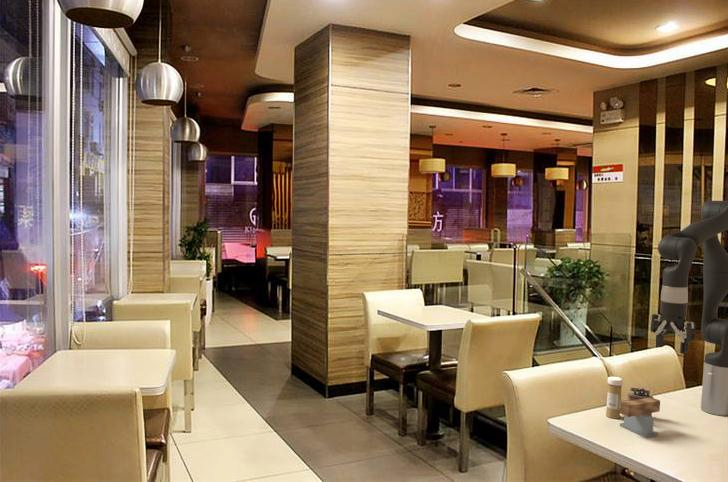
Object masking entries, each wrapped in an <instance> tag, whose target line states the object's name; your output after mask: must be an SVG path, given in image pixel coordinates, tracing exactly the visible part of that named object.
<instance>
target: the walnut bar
mask: <svg viewBox="0 0 728 482" xmlns="http://www.w3.org/2000/svg"><path fill="white" fill-rule="evenodd" d="M660 406H661V400H660V399H657V398H655V397H653V398H652V397H651V398H645V399H639V400H633V401H628V400H627V401H621V404H620V415H623V416H624V415H625V416H627V417H631V416H637V415H642V414H648V413H652V414H653V413H657V412H658V413H659V412H660V409H661V407H660Z"/></svg>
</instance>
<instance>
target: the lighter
mask: <svg viewBox="0 0 728 482" xmlns="http://www.w3.org/2000/svg"><path fill="white" fill-rule="evenodd" d="M629 391H630V392H628V393H627V401H633V400H639V399H645V398H651V397H652V398H654V396H653V395H650V394H651V391H650V389H647V388H646V389H645V387H641V386H640V388H638V387H635V386H630V390H629ZM648 415H650V416H652V417H653V413H648Z"/></svg>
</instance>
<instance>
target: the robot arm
mask: <svg viewBox="0 0 728 482" xmlns="http://www.w3.org/2000/svg"><path fill="white" fill-rule="evenodd" d="M726 231H728V200H707V201H705V202H704V203H703V204H702V206H701V210H700V220H697V221H695V222H693V223H690V224H689V225H687V226H686V227H684V228H683V229H682V230H679V231H676V232H673V233H670V234H667V235H665V236H664V237H662V238H661V239H660V241H659V243H658V245H657V252H658V255H660V256H661V257H662V258H664V259H667V260H678V261H679V262H678V264H677V265H672V266H666V267H665V268H664V269H663V271H662V285H661V292H660V304H659V305H660V308H659V312H660V313H653V314H652V315H651V323H650V332H651V333H654V334H655V344H656V347H658V348H663V347H664V340H665V338H664V336H665V335H664V334H665V333H666V332H671V333H674V334H675V335H676V336H677V337H678V338H679V339H680V341H681V342H680V346H679V352H680V353H679V354H681V355H687V353H688V352H689V344H690V342H695V341H696V322H695V321H687V320H686V319H687V318H686V317H687V315H688V303H689V302H688V301H689V300H688V299H689V289H688V287H689V273H690V271H691V267H692V264H693V262H694V259H695V257H696V253H697V249H698V248H699V247H701V245H702V244H703V246H702V247H703V260H702V261H703V265H702V268H703V270H702V271H703V273H702V279H703V280H702V281H703V302H702V303H703V305H702V316H701V329H700V333H701V338H702V339H703V341H705V342H706V343H709V344H713V345H718V346H721V349H720V351H717V352H716V351H714V352H708V353H706V354H705V355H704V360H703V361H704V363H703V372H702V373H703V374H702V388H701V397H700V398H701V400H700V409H701V410H702V411H703V412H706V413H708V414H711V415H716V416H722V417H723V416H728V319H725V318H718V312H719V311H718V310H719V306H720V304H721V302H722V301H723V300H724V298H725V297H726V296H727V295H728V252H727V251H726V249H725V248H724V246H723V245H722V243H721V241H720V239H719V236H718V235H719V234H722V233H724V232H726ZM660 322H661V323H660Z"/></svg>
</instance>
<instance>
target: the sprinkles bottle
mask: <svg viewBox="0 0 728 482" xmlns="http://www.w3.org/2000/svg"><path fill="white" fill-rule="evenodd" d="M622 386H623V378H621V377H619V376H608V377H607V394H606V395H607V396H606V412H605V416H606V417H608V418H610V419H611V418H612V419H615V420H616V419H620V417H621V414H620V404H621V402H622Z"/></svg>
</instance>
